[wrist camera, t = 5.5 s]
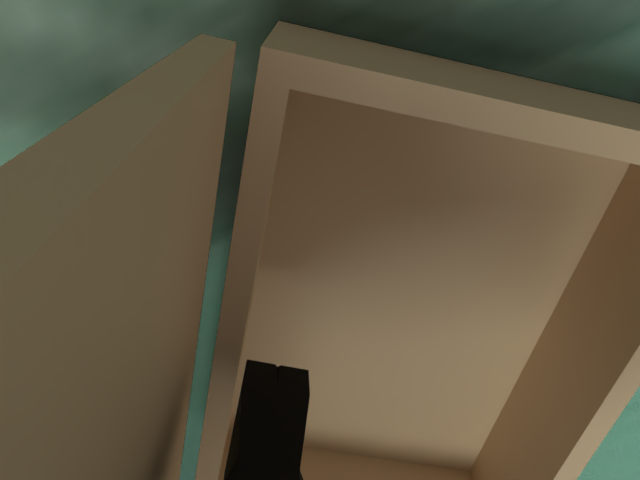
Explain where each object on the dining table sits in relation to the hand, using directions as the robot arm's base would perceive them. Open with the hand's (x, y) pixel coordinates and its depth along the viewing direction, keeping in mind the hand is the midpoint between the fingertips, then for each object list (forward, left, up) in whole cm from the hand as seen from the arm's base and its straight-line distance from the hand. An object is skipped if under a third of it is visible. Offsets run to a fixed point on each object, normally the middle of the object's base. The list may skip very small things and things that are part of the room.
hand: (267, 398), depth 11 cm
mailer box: (0, -4, -5) cm, 6 cm away
